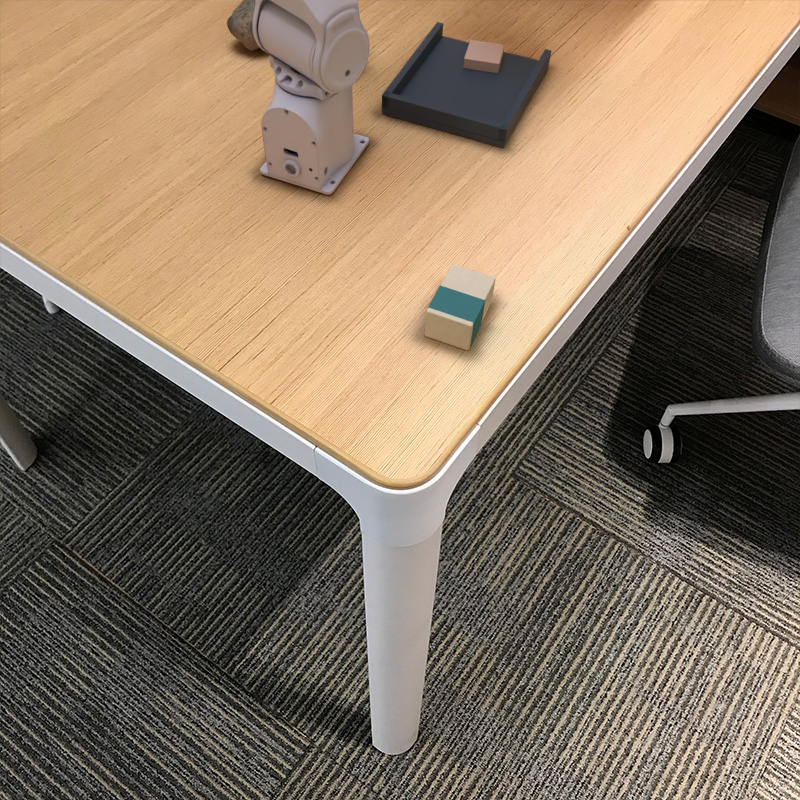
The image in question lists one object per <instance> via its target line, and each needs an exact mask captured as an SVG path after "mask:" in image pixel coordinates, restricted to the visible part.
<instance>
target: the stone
mask: <svg viewBox="0 0 800 800" xmlns="http://www.w3.org/2000/svg"><path fill="white" fill-rule="evenodd" d="M254 10H255V0H242V1H241V2H240V3H239V4H238V6H236V8H235V9H234V10H233V11H232V14H231V15H230V16H229V17H228V18H227V21H226V27H227V29H228V31H229V33H230V34H231V35H232V36H233V37H234V38H235V39H236V40H238V41H239V42H240V43H241V44H242V45H243V47H245V48H246V49H247V50H248V51H256V50H259V49H261V48H260V47H259V46H258V44H257V43H256V41H255V38H254V35H253V27H252V24H253V16H254Z"/></svg>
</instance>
